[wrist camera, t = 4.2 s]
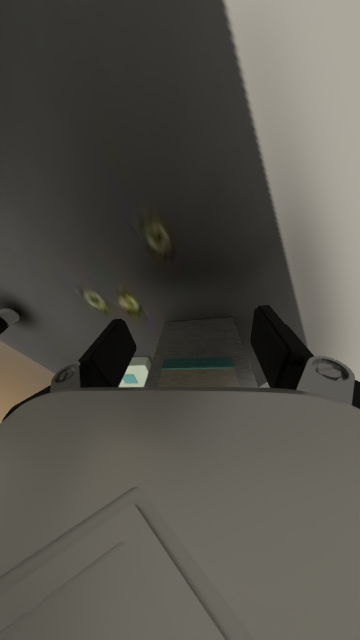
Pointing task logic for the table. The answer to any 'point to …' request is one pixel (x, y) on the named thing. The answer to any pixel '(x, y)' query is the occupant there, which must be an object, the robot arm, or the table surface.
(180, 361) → the unit
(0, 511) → the robot arm
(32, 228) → the table surface
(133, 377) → the tray
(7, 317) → the light bulb
